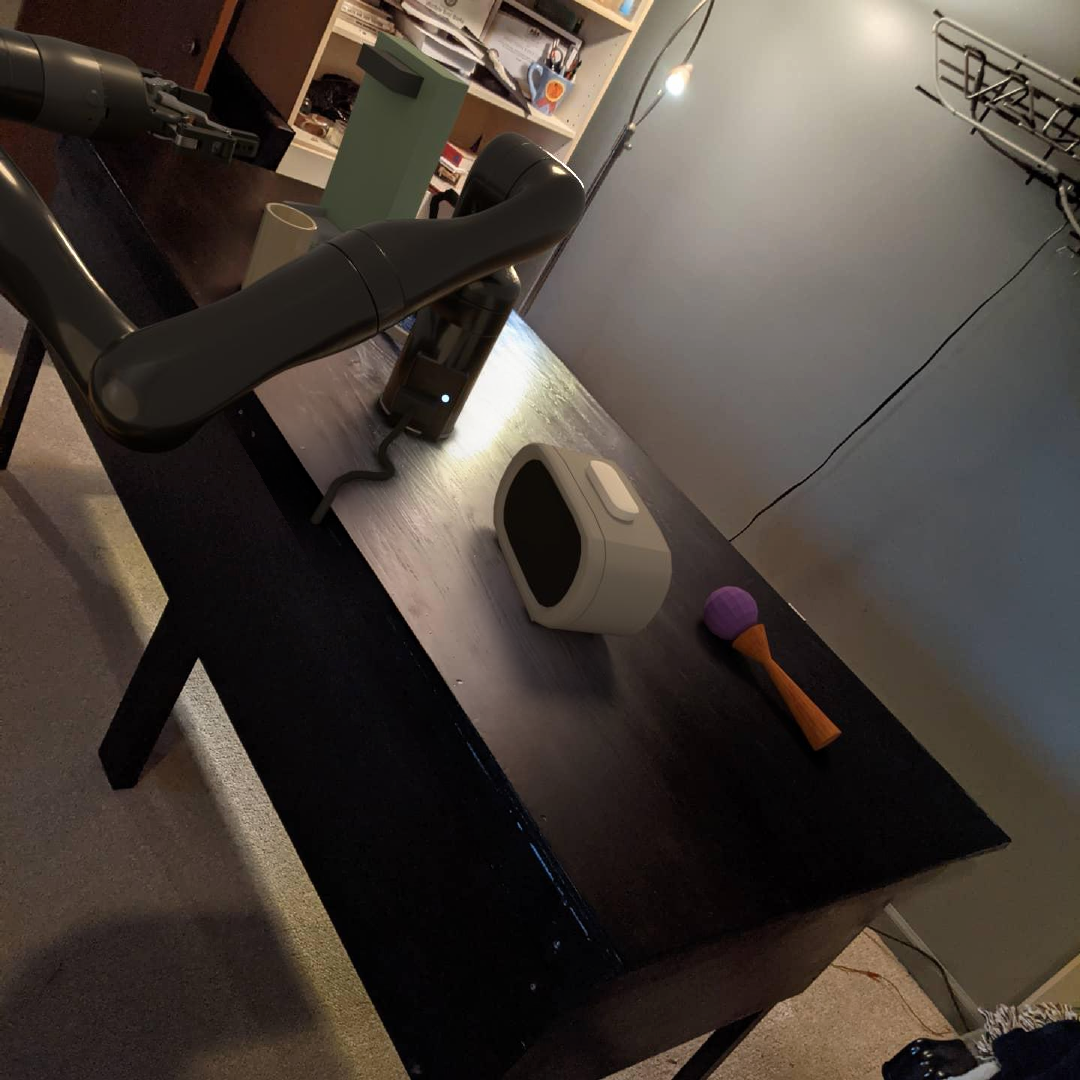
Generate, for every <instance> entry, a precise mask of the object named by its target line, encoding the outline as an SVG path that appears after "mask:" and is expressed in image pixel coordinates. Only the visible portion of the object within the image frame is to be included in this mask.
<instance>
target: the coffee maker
mask: <svg viewBox="0 0 1080 1080" xmlns="http://www.w3.org/2000/svg"><path fill="white" fill-rule="evenodd" d="M355 65H356V66H357V67H359V68H360V69H361V70H362V71H364V74H363V77H362V80H361V83H360V86H359V89H358V91H357V95H356V98H355V100H354V103H353V106H352V109H351V112H350V115H349V118H348V121H347V124H346V126H345V130H344V132H343V135H342V138H341V141H340V144H339V147H338V150H337V153H336V156H335V158H334V161H333V164H332V167H331V170H330V173H329V175H328V179H327V182H326V184H325V187H324V190H323V193H322V196H321V199H320V202H319V205H317V204H311V203H304V202H297V201H290V200H282V202H281V204H284V205H287V206H289V207H292V208H294V209H297V210H299V211H301V212H303V213H304V214H306V215H307V216H309V217H310V218H311V219H312V220H313V221H314V222H315V223H316V226H317V228H316V230H315V233H314V236H313V239H312V242H311V245H310V248H309V250H311V249H313V248H314V247H316V246H318V245H320V244H322V243H325V242H327V241H329V240H331V239H333V238H335V237H337V236H339V235H341V234H343V233H345V232H347V231H350V230H351V229H354V228H356V227H359V226H361V225H364V224H367V223H371V222H375V221H383V220H393V219H417V216H418V213H419V211H420V209H421V206H422V203H423V201H424V200H425V199H424V198H425V196H426V193H427V192H428V189H429V186H430V184H431V181H432V180H433V176H434V175H435V172H436V169H437V168H438V165H439V163H440V159H441V157H442V155H443V152H444V150H445V147H446V145H447V143H448V140H449V138H450V135H451V133H452V131H453V128H454V125H455V123H456V121H457V117H458V116H459V113H460V111H461V109H462V106H463V104H464V101H465V99H466V96H467V95H468V91H469V89H470V85H469V84H468V83H467V82H466V81H464V80H463V79H461V78H460V77H459V76H457V75H456V74H455V73H453V72H451V70H449V69H447V68H446V67H444V65H442V64H441V63H439V62H438V61H436V60H435V59H433V58H432V57H430V56H429V55H428V54H426V53H425V52H424V51H422V50H421V49H419V48H418V47H416V46H415V45H414V44H412V43H411V42H409V41H408V40H406V39H403V38H400V37H398V36H396V35H393V34H390V33H388V32H385V31H383V30H379V31H378V34H377V36H376V39H375V43H374V45H371V44H368V43H365V42H362V44H361V48H360V51H359V53H358V56H357V60H356V62H355ZM268 204H269V203H265V207H264V211H265V208H266V206H267V205H268Z"/></svg>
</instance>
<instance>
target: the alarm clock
mask: <svg viewBox="0 0 1080 1080" xmlns="http://www.w3.org/2000/svg"><path fill="white" fill-rule="evenodd" d="M641 498H642V497H640V495H639V494H638V492H637V491H636V489H635V487H634V486H633V483H631V481H630V479H629V477H628V476H627V475H626V474H625V472H624V471H623V470H622V469H621V467H619V465H618V464H617V463H616V462H615V461H614V460H613V459H612V460H611V459H608V458H603V457H600V456H596V455H592V454H588V453H584V452H580V451H577V450H576V451H575V450H573V449H568V448H564V447H562V446H561V447H560V446H556V445H553V444H548V443H546V442H545V443H544V442H538V441H531V442H529V443H528V444H525V445H523V446H522V447H521V448H520V449H519V450H518V451H517V452H516V453H515V455H514V456H513V457H512V458H511V460H510V462H509V463H508V465H507V466H506V468H505V470H504V472H503V474H502V476H501V479H500V481H499V483H498V487H497V489H496V492H495V496H494V502H493V508H492V511H493V512H492V514H493V516H492V520H493V521H492V523H493V526H494V530H495V533H496V536H497V540H498V544H499V546H500V549H501V552H502V554H503V557H504V558H505V561H506V563H507V566H508V569H509V570H510V573H511V575H512V578H513V580H514V582H515V584H516V587H517V589H518V592H519V594H520V596H521V598H522V601H523V603H524V606H525V608H526V611H527V613H528V615H529V617H530V620H531V621H532V622H535V623H537V624H539V625H541V626H544V627H545V628H548V629H553V630H554V629H555V630H563V631H572V632H580V633H588V634H589V633H590V634H596V635H597V634H598V635H606V636H616V637H622V638H623V637H629V636H634V635H635V634H637V633H638V632H640V631H641V630H643V629H645V627H647V625H648V624H649V623H650V622H651V621H652V620H653V619H654V618H655V616H656V614H657V613H658V612H659V611H660V609H661V607H662V605H663V603H664V601H665V599H666V597H667V593H668V591H669V590H670V585H671V579H672V574H673V567H672V566H673V565H672V552H671V550H670V548H669V546H668V544H667V542H666V539H665V537H664V535H663V533H662V531H661V529H660V526H659V525H658V524H657V522H656V520H655V519H654V518H653V516H652V514H651V513H650V511H649V510H648V508H647V506H646V505H645V502H643V500H642V499H641Z"/></svg>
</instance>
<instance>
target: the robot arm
mask: <svg viewBox="0 0 1080 1080" xmlns="http://www.w3.org/2000/svg"><path fill="white" fill-rule="evenodd" d="M162 77H163V75H162V74H161V73H160V72H159V71H157V70H153V69H149V68H145V67H141V66H138V65H137V64H136V63H135V62H134V61H133V60H132V59H130V58H129V57H127V56H124V55H121V54H117V53H113V52H110V51H106V50H103V49H99V48H96V47H91V46H88V45H85V44H80V43H78V42H77V43H76V42H72V41H69V40H65V39H62V38H59V37H56V36H55V37H54V36H50V35H43V34H34V33H28V32H24V31H19V30H15V29H12V28H8V27H5V26H1V25H0V121H4V122H10V123H16V124H21V125H27V126H31V127H34V128H36V129H37V128H38V129H40V130H43V131H47V132H49V133H54V134H57V135H58V134H59V135H64V136H70V137H75V138H80V139H86V140H93V141H98V142H103V143H109V144H115V145H119V146H129V145H132V144H134V143H135V142H136V141H138V140H139V139H140V138H141V137H142V136H143V135H144V134H145V133H148V134H150V135H151V136H152V137H155V138H157V139H160V140H163V141H167V140H169V141H171V142H172V144H171V151H172V152H174V153H175V154H177V155H180V156H186V157H191V158H196V159H201V160H205V161H210V162H214V163H219V164H224V165H230V164H231V162H232V156H233V155H236V156H239V157H240V156H241V157H245V158H250V159H251V158H252V159H254V158H255V157H256V156H257V154H258V151H259V149H260V148H259V147H260V144H261V138H260V137H259V136H258V135H256V133H253V132H250V131H245V130H241V129H236V128H231V127H227V126H224V125H221V124H219V123H216V122H214V121H212V120H209V117H208V116H209V115H210V111H211V107H212V104H213V98H212V97H211V96H210V95H209V94H208V93H206V92H204V91H199V90H196V89H192V88H187V87H184V86H180V85H178V84H177V83H175V81H173V80H171V79H163V78H162ZM191 117H192V118H193V119H194V120H195V123H196V124H195V125H193V124H191V123H190V122H191ZM459 195H460V196H459V198H458V201H457V204H456V207H455V208H453V212H452V214H451V217H450V218H449V217H448V218H437V219H429V218H415V219H393V220H383V221H375V222H371V223H367V224H364V225H361V226H359V227H356V228H354V229H351V230H350V231H347V232H345V233H343V234H341V235H339V236H337V237H335V238H333V239H331V240H329V241H327V242H325V243H322V244H320V245H318V246H316V247H314V248H313V249H311V250H309V251H307V252H306V253H304V254H302V255H300V256H298V257H296V258H295V259H293V260H291V261H289V262H287V263H285V264H284V265H282V266H280V267H278V268H277V269H275V270H273V271H271V272H270V273H268V274H266V275H265V276H263V277H262V278H260V279H258V280H257V281H255V282H254V283H252V284H251V285H249V286H247V287H246V288H244V289H242V290H241V289H240V290H239V291H237V292H235V293H233V294H231V295H229V296H226V297H225V298H222V299H220V300H217V301H215V302H213V303H210V304H207V305H204V306H201V307H199V308H196V309H194V310H190V311H187V312H185V313H182V314H179V315H177V316H173V317H171V318H168V319H165V320H162V321H160V322H156V323H152V324H151V325H147V326H145V327H142V328H139V327H137V325H136V324H134V322H132V321H131V320H130V319H129V318H128V317H127V315H126V314H125V313H124V312H123V311H122V310H121V309H120V308H119V307H118V306H117V304H115V302H114V301H113V300H112V299H111V297H110V296H109V295H108V293H107V292H106V291H105V289H103V287H102V285H100V283H99V282H98V281H97V279H96V278H95V276H94V275H93V274H92V272H91V271H90V269H89V268H88V267H87V265H86V264H85V262H84V260H83V259H82V258H81V256H80V255H79V253H78V252H77V250H76V248H75V247H74V245H73V244H72V242H71V240H70V239H69V238H68V236H67V234H66V232H65V231H64V229H63V228H62V226H61V224H60V223H59V221H58V220H57V219H56V217H55V215H54V213H53V212H52V211H51V209H50V208H49V206H48V205H47V203H46V202H45V200H44V198H43V197H42V196H41V194H40V193H39V191H38V190H37V189H36V188H35V186H34V185H33V183H32V182H31V181H30V179H29V178H28V177H27V175H26V174H25V173H24V172H23V171H22V169H21V168H20V167H19V166H18V164H17V163H16V162H15V161H14V159H13V158H12V156H10V155H9V153H8V152H7V151H6V149H5V148H4V147H3V146H2V145H1V144H0V287H1V288H2V289H3V290H4V291H5V292H6V293H7V294H8V296H9V297H10V298H11V299H12V300H13V302H15V303H16V305H17V306H18V308H20V310H21V311H22V312H23V313H24V314H25V316H26V317H27V319H29V321H30V322H31V323H32V324H33V325H34V327H35V328H36V329H37V331H38V332H39V333H40V334H41V336H42V337H43V339H44V340H45V341H46V342H47V343H48V345H49V346H50V348H51V349H52V350H53V352H54V353H55V355H56V356H57V358H58V359H59V361H60V362H61V363H62V364H63V366H64V367H65V369H66V371H67V372H68V374H69V376H70V378H72V380H73V382H74V383H75V385H76V386H77V388H78V390H79V392H80V393H81V395H82V397H83V398H84V400H85V402H86V404H88V407H89V408H90V411H91V414H92V416H93V418H94V421H95V423H96V424H97V425H98V427H99V428H100V429H101V431H102V432H103V433H104V434H105V435H106V436H107V437H108V438H110V439H111V440H112V441H113V442H115V443H116V444H118V445H119V446H122V447H124V448H126V449H129V450H131V451H135V452H138V453H142V454H143V453H144V454H161V453H162V454H163V453H167V452H171V451H173V450H176V449H178V448H180V447H181V446H184V445H185V444H186V443H187V442H189V441H190V440H191V439H192V438H193V437H195V436H196V434H197V433H198V432H199V431H200V429H202V427H204V426H205V425H206V424H207V423H208V422H210V420H211V419H213V418H214V417H216V416H217V415H218V414H219V413H221V412H222V411H224V410H225V409H226V408H228V407H229V406H231V405H232V404H234V403H235V402H237V401H238V400H239V399H241V398H243V397H244V396H245V395H247V394H249V393H250V392H252V391H253V390H255V389H256V388H258V387H260V386H261V385H262V384H264V383H266V382H267V381H269V380H271V379H273V378H274V377H276V376H278V375H281V374H282V373H284V372H286V371H288V370H289V371H290V370H292V369H294V368H297V367H300V366H303V365H306V364H309V363H313V362H316V361H318V360H319V361H320V360H322V359H325V358H329V357H331V356H334V355H337V354H340V353H342V352H345V351H347V350H350V349H352V348H354V347H357V346H359V345H361V344H363V343H365V342H367V341H370V340H371V339H374V338H375V337H377V336H379V335H380V334H382V333H385V332H384V331H386V330H388V329H390V328H391V327H393V326H395V325H397V326H398V324H400V323H403V322H404V321H405V320H407V319H408V318H410V317H411V316H414V315H415V314H416V317H415V319H414V321H413V323H412V325H411V328H410V330H409V332H408V333H409V334H408V337H407V339H406V341H405V344H404V345H403V346H402V348H401V350H400V352H399V355H398V357H397V359H396V362H395V364H394V366H393V369H392V371H391V373H390V376H389V378H388V381H387V382H386V385H385V387H384V390H383V391H382V392H381V394H380V396H379V399H378V405H379V408H380V410H381V412H382V414H384V416H385V417H386V419H387V421H386V423H387V424H389V425H391V426H393V429H392V430H391V431H390V432H389V433H388V434H387V435H386V436H385V437H384V438H383V439H382V440H381V441H380V443H379V445H378V448H377V457H378V460H379V461H380V464H381V465H382V466H383V468H384V469H385V470H383V471H375V470H374V471H373V470H363V469H356V470H350V471H348V472H346V473H343V474H340V475H339V476H338V477H336V478H335V479H334V480H332V482H331V483H330V485H329V487H328V488H327V490H326V492H325V494H324V495H323V498H322V499H321V500H320V503H319V505H318V506H317V508H315V511H314V513H313V514H312V515H311V518H310V522H311V523H312V524H314V525H319V524H321V522H322V520H323V519H324V518H325V516H326V514H327V513H328V512H329V509H330V508H331V506H332V504H333V502H334V500H335V499H336V497H337V494H338V493H339V491H340V490H341V488H342V487H344V485H346V484H348V483H351V482H352V481H356V480H357V481H359V480H365V481H374V482H383V481H388V480H390V479H391V478H392V477H394V475H395V472H396V469H395V466H394V464H393V462H392V461H391V459H389V458H390V457H388V453H387V452H388V449H389V446H390V445H391V444H392V443H393V442H394V441H395V440H397V438H398V437H400V436H401V434H402V433H403V432H404V431H405V432H407V433H409V434H412V435H414V436H416V437H419V438H421V439H424V440H425V441H428V442H431V443H433V444H437V443H438V442H439V440H444V439H447V438H448V437H450V436H451V435H452V434H453V431H454V429H455V426H456V423H457V421H458V419H459V417H460V415H461V413H462V411H463V410H464V407H465V405H466V403H467V401H468V399H469V397H470V396H471V393H472V391H473V389H474V387H475V386H476V384H477V381H478V379H479V377H480V376H481V374H482V371H483V369H484V368H485V366H486V363H487V361H488V360H489V357H490V355H491V353H492V352H493V349H494V347H495V345H496V343H497V342H498V339H499V338H500V335H501V334H502V331H503V330H504V327H505V326H506V324H507V321H508V320H509V318H510V316H511V314H512V312H513V310H514V308H515V306H516V304H517V302H518V300H519V298H520V295H521V293H522V292H521V291H522V283H521V280H520V277H519V276H518V274H517V272H516V269H515V268H514V267H515V266H517V265H520V264H522V263H524V262H527V261H530V260H531V259H534V258H536V257H538V256H540V255H543V254H544V253H546V252H548V251H550V250H551V249H552V248H554V247H556V246H557V245H558V244H560V243H562V242H563V240H564V239H566V238H567V237H568V235H570V233H571V232H573V230H574V229H575V228H576V226H577V225H578V224H579V222H580V220H581V219H582V216H583V214H584V211H585V208H586V203H587V195H586V191H585V187H584V185H583V183H582V181H581V180H580V179H579V178H578V176H577V175H576V174H575V173H574V172H573V171H572V170H571V169H570V168H569V167H568V166H567V165H566V164H564V163H562V161H560V160H559V159H557V158H556V157H555V156H553V155H552V154H551V153H549V152H548V151H546V150H545V149H544V148H542V147H541V146H540V145H538V144H537V143H535V142H534V141H533V140H531V139H529V138H528V137H526V136H525V135H524V134H521V133H519V132H516V131H505V132H502V133H500V134H498V135H496V136H495V137H493V138H492V139H491V140H489V141H488V142H487V143H486V144H485V145H484V146H483V148H482V149H481V151H479V153H478V155H477V156H476V158H475V160H474V161H473V163H472V165H471V167H470V169H469V171H468V173H467V175H466V178H465V180H464V182H463V185H462V189H461V191H460V193H459ZM418 311H419V312H418ZM416 312H418V314H417V313H416Z"/></svg>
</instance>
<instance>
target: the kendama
mask: <svg viewBox="0 0 1080 1080" xmlns="http://www.w3.org/2000/svg"><path fill="white" fill-rule="evenodd" d="M702 614H703V615H702V616H703V619H704V624H705V626H706V627H707V628H708V630H709V631H710V632H711V633H712V634H714V635H715V636H717V637H719V639H723V640H727V641H733V642H732V644H731V648H733V649H734V650H736V651H739V652H740V653H742V654H743V655H745V656H748V657H749V658H750V659H753V660H754V661H756V662H758V663H760V664H762V665H763V667H764V669H765V671H766V672H767V673H768V675H769V677H770V679H771V681H772V682H773V684H774V685H775V688H776V689H777V691H778V692H779V694H780V695H781V697H782V699H783V701H784V702H785V704H786V706H787V708H788V709H789V711H790V713H791V714H792V716H793V718H794V719H795V721H796V723H797V724H798V726H799V727H800V730H801V731H802V733H803V735H804V736H805V737H806V740H807V741H808V743H809V744H810V746H811V748H812V749H813V751H814V752H816V751H819V750H821V749H823V748H824V747H826V746H827V745H829V744H831V743H832V742H833V741H835V740H836V739H838V737H839V736H841V734H842V731H841V730H840V729H839V728H838V727H837V726H836V725H835V724H834V723H833V722H832V721H831V720H830V719H829V717H827V716H826V714H825V713H824V712H823V711H822V710H821V709H820V708H819V707H818V706H817V705H816V704H815V703H814V702H813V701H812V700H811V699H810V697H809V696H808V695H806V694H805V692H804V691H803V690H802V689H801V688H800V687H799V686H798V685H797V684H796V683H795V682H794V680H793V679H792V678H791V677H790V676H788V675H787V674H786V672H785V671H784V670H783V669H782V668H781V667H780V666H779V665H778V664H777V663H776V662H775V661H774V660H773V659H772V656H771V652H770V646H769V641H768V638H767V633H766V628H765V625H764V624H763V623H758V616H759V609H758V605H757V601H756V600H755V599H754V598H753V596H751V594H750V593H749V592H747V591H746V590H744V589H742V588H740V587H739V586H730V585H729V586H723V587H721V588H718V589H716V590H714V591H713V592H712V593H711V594H710V595H709V596H708V597H707V598H706V600H705V602H704V606H703V612H702ZM757 623H758V624H757Z"/></svg>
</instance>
